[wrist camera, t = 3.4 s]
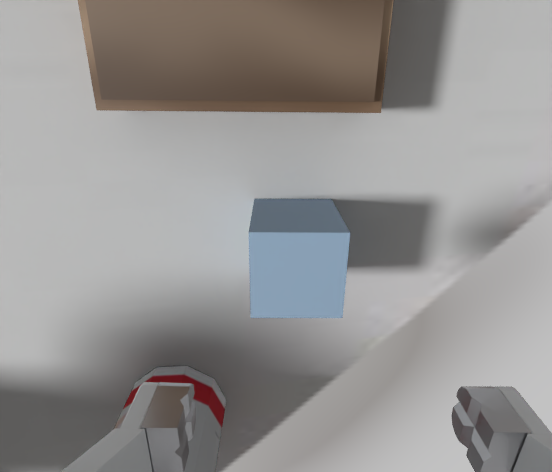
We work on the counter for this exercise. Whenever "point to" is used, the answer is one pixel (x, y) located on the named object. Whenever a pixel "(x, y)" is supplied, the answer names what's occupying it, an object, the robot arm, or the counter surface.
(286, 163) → the counter surface
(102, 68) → the walnut plinth
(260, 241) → the slate block
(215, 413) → the nozzle bottle
